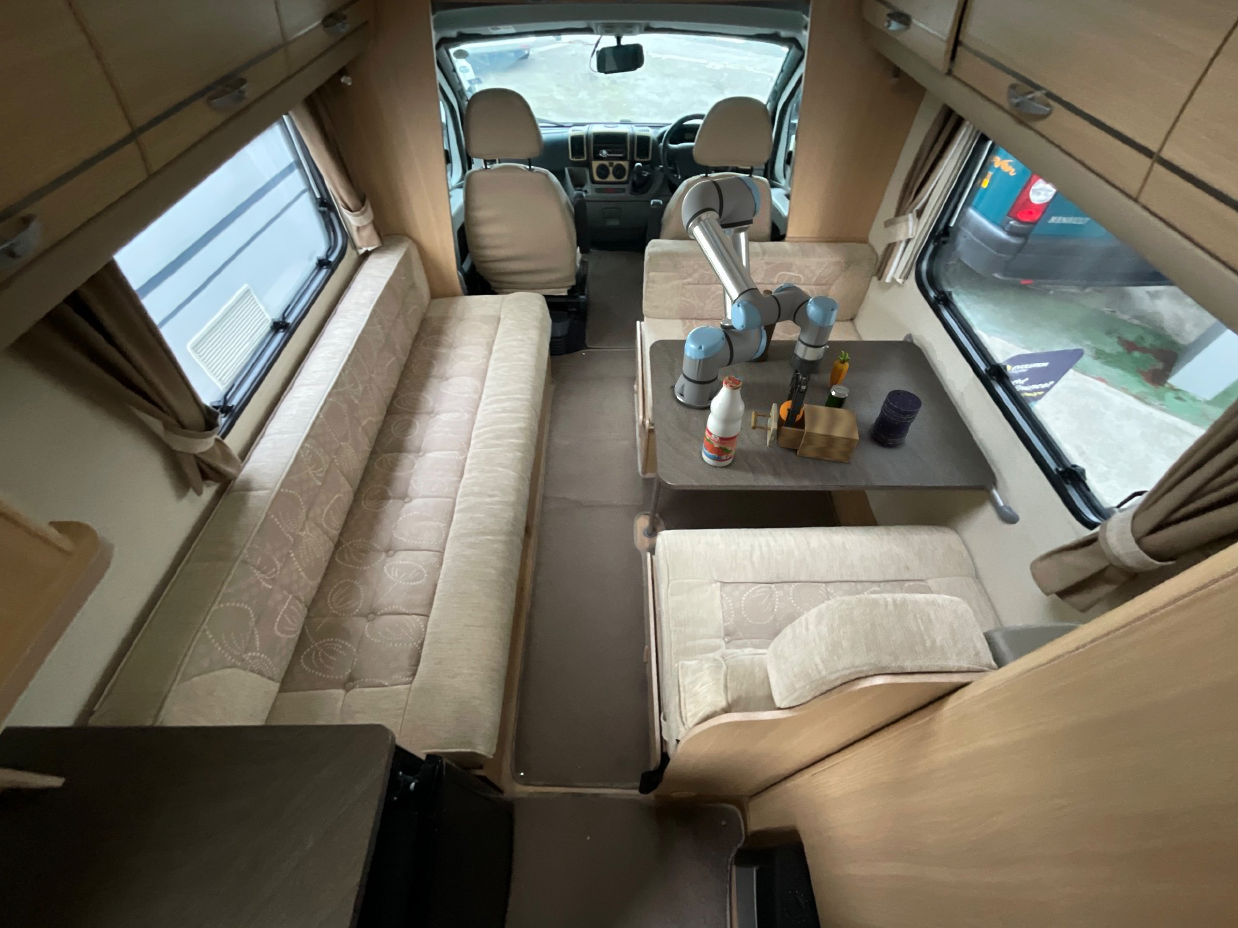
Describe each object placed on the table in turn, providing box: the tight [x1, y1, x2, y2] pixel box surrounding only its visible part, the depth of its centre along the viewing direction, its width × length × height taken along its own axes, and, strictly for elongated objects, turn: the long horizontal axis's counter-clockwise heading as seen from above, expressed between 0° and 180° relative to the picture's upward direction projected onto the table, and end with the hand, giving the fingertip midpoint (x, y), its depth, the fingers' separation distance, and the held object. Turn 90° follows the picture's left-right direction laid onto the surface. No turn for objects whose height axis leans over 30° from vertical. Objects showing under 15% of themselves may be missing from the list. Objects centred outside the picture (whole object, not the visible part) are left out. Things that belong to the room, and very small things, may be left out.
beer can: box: [824, 384, 849, 409], centre depth 175 cm, size 5×5×12 cm
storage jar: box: [869, 389, 923, 449], centre depth 168 cm, size 10×10×15 cm
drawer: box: [750, 402, 805, 450], centre depth 169 cm, size 19×12×8 cm, turn 79°
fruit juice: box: [701, 375, 745, 468], centre depth 156 cm, size 9×9×28 cm
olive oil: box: [749, 289, 777, 363], centre depth 194 cm, size 11×11×25 cm
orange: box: [779, 400, 803, 422], centre depth 164 cm, size 6×6×6 cm
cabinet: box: [796, 403, 860, 464], centre depth 167 cm, size 15×13×10 cm
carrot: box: [829, 350, 851, 389], centre depth 184 cm, size 5×5×15 cm
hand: (788, 418), depth 166 cm, fingers closed on orange, 6 cm apart
